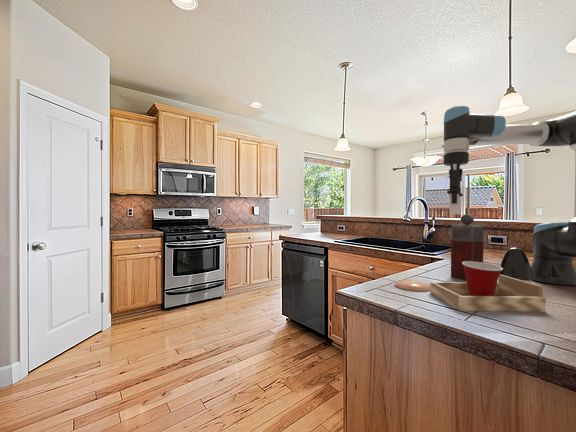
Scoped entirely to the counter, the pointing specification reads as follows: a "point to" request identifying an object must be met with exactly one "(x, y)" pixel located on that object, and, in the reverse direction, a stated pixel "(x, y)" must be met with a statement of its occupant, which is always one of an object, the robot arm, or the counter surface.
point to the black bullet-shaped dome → (516, 265)
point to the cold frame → (510, 290)
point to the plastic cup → (481, 278)
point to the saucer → (413, 285)
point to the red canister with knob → (465, 245)
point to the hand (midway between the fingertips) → (455, 214)
